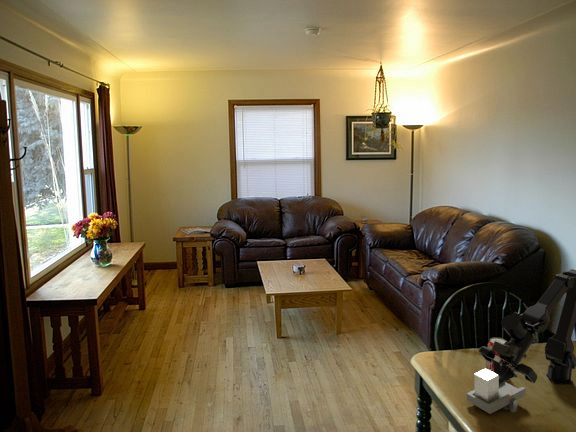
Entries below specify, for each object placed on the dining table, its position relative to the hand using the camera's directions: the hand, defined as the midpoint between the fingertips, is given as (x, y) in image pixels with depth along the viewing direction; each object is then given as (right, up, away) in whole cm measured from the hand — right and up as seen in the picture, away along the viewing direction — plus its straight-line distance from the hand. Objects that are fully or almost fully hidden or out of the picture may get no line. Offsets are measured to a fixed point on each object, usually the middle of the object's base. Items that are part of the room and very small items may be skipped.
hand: (492, 385), depth 160 cm
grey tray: (+2, -4, +2) cm, 5 cm away
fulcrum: (+3, -7, +3) cm, 8 cm away
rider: (-2, -4, 0) cm, 5 cm away
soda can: (+11, -3, +24) cm, 26 cm away
